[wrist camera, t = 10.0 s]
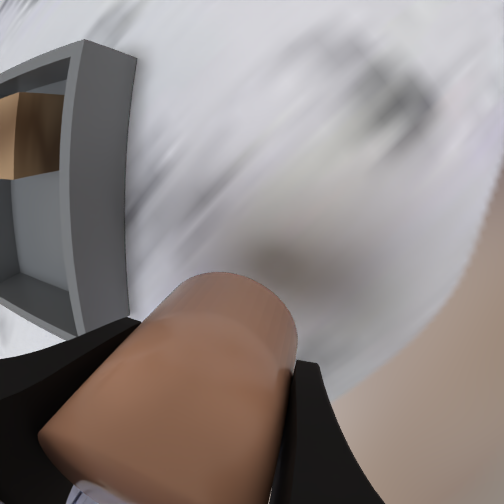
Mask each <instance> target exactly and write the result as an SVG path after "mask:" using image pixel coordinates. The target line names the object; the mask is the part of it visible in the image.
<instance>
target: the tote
mask: <svg viewBox="0 0 504 504" xmlns="http://www.w3.org/2000/svg"><path fill="white" fill-rule="evenodd" d="M136 62H137V58H135V57H132V56H130V55H127V54H125V53H122V52H119V51H117V50H114V49H111V48H109V47H106V46H103V45H100V44H97V43H94V42H91V41H88V40H85V39H84V40H81V41H77V42H74V43H71V44H68V45H66V46H63V47H60V48H57V49H55V50H52V51H49V52H47V53H44V54H42V55H39V56H37V57H35V58H32V59H30V60H28V61H26V62H23V63H21V64H19V65H17V66H15V67H13V68H11V69H9V70H7V71H5V72H3V73H1V74H0V99H1V98H4V97H7V96H9V95H12V94H15V93H18V92H29V93H45V94H58V95H65V96H64V104H63V114H62V125H61V139H60V165H59V171H54V172H49V173H43V174H38V175H33V176H29V177H24V178H19V179H15V180H10V179H0V304H1V305H3V306H5V307H6V308H8V309H9V310H11V311H13V312H14V313H16V314H18V315H19V316H21V317H23V318H25V319H26V320H28V321H30V322H32V323H34V324H35V325H37V326H39V327H41V328H43V329H45V330H46V331H48V332H50V333H52V334H54V335H56V336H58V337H60V338H62V339H64V340H66V341H68V340H70V339H73V338H75V337H78V336H80V335H82V334H85V333H87V332H90V331H92V330H94V329H97V328H99V327H102V326H104V325H106V324H109V323H111V322H114V321H116V320H119V319H122V318H125V317H127V316H129V315H130V314H129V304H128V292H127V279H126V261H125V233H124V191H125V164H126V147H127V134H128V122H129V113H130V104H131V95H132V88H133V81H134V74H135V68H136Z"/></svg>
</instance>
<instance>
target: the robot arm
mask: <svg viewBox="0 0 504 504" xmlns="http://www.w3.org/2000/svg"><path fill="white" fill-rule="evenodd" d="M140 324H141V322H140V321H137V320H134V319H131V318H128V317H125V318H122V319H119V320H116V321H114V322H111V323H109V324H106V325H104V326H102V327H99V328H97V329H94V330H92V331H90V332H87V333H85V334H82V335H80V336H78V337H75V338H73V339H70V340H68V341H65V342H62V343H59V344H57V345H54V346H51V347H48V348H45V349H42V350H39V351H36V352H32V353H28V354H24V355H20V356H16V357H11V358H5V359H0V504H98V503H97V502H95V501H94V500H93V499H91V498H90V497H88V496H87V495H86V494H85V493H83V492H82V491H81V490H80V489H78V488H77V487H76V486H75V485H74V484H72V483H71V482H70V481H69V480H68V479H67V478H66V477H65V476H64V475H63V474H62V473H61V472H60V471H59V470H58V469H57V468H56V467H55V466H54V464H53V463H52V462H51V461H50V459H49V458H48V457H47V455H46V454H45V452H44V451H43V449H42V447H41V446H40V443H39V440H38V433H39V431H40V430H41V429H42V428H43V427H44V426H45V424H46V423H47V422H48V421H49V420H50V419H51V418H52V417H53V416H54V415H55V413H56V412H57V411H58V410H59V409H60V408H61V407H62V406H63V405H64V404H65V403H66V402H67V400H68V399H69V398H70V397H71V396H72V395H73V394H74V393H75V392H76V391H77V390H78V389H79V388H80V386H81V385H82V384H83V383H84V382H85V381H86V380H87V379H88V378H89V377H90V376H91V375H92V374H93V373H94V372H95V371H96V369H97V368H98V367H99V366H100V365H101V364H102V363H103V362H104V361H105V360H106V359H107V358H108V357H109V356H110V355H111V354H112V353H113V352H114V351H115V350H116V349H117V348H118V347H119V345H120V344H121V343H122V342H123V341H124V340H125V339H126V338H127V337H128V336H129V335H130V334H131V333H132V332H133V331H134V330H135V329H136V328H137V327H138V326H139V325H140ZM269 504H385V503H384V501H383V500H382V499H381V498H380V496H379V495H378V494H377V492H376V491H375V490H374V488H373V487H372V485H371V484H370V482H369V481H368V479H367V477H366V476H365V474H364V473H363V471H362V469H361V468H360V466H359V464H358V463H357V461H356V459H355V457H354V455H353V453H352V452H351V450H350V448H349V446H348V444H347V441H346V439H345V437H344V435H343V433H342V431H341V429H340V426H339V424H338V422H337V419H336V417H335V414H334V412H333V409H332V406H331V404H330V401H329V398H328V395H327V392H326V389H325V386H324V383H323V379H322V376H321V371H320V367H319V365H318V364H317V363H312V362H306V361H301V360H297V361H296V365H295V369H294V372H293V377H292V383H291V389H290V395H289V402H288V408H287V414H286V419H285V425H284V430H283V436H282V441H281V446H280V451H279V456H278V461H277V466H276V470H275V475H274V480H273V484H272V491H271V496H270V502H269Z"/></svg>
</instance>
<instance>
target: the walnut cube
mask: <svg viewBox="0 0 504 504" xmlns="http://www.w3.org/2000/svg"><path fill="white" fill-rule="evenodd" d="M64 96H65V95H58V94H45V93H29V92H18V93H15V94H12V95H9V96H7V97H4V98H1V99H0V179H10V180H15V179H19V178H24V177H29V176H33V175H38V174H43V173H49V172H54V171H59V165H60V139H61V125H62V114H63V104H64Z"/></svg>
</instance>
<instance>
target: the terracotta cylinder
mask: <svg viewBox="0 0 504 504" xmlns="http://www.w3.org/2000/svg"><path fill="white" fill-rule="evenodd" d="M297 345H298V335H297V329H296V326H295V322H294V320H293V318H292V316H291V314H290V312H289V310H288V309H287V307H286V306H285V304H284V303H283V302H282V301H281V300H280V299H279V298H278V297H277V296H276V295H275V294H274V293H273V292H272V291H270V290H269V289H268V288H266V287H265V286H263V285H262V284H260V283H258V282H256V281H254V280H252V279H249V278H247V277H244V276H241V275H237V274H233V273H226V272H211V273H204V274H200V275H196V276H194V277H191V278H189V279H187V280H186V281H184V282H183V283H181V284H180V285H179V286H178V287H177V288H176V289H175V290H174V291H173V292H172V293H171V294H170V295H169V296H168V297H167V298H166V299H165V300H164V301H163V302H162V303H161V304H160V305H159V306H158V307H157V308H156V309H155V310H154V311H153V312H152V313H151V314H150V315H149V316H148V317H147V318H146V319H145V320H144V321H143V322H142V323H141V324H140V325H139V326H138V327H137V328H136V329H135V330H134V331H133V332H132V333H131V334H130V335H129V336H128V337H127V338H126V339H125V340H124V341H123V342H122V343H121V344H120V345H119V347H118V348H117V349H116V350H115V351H114V352H113V353H112V354H111V355H110V356H109V357H108V358H107V359H106V360H105V361H104V362H103V363H102V364H101V365H100V366H99V367H98V368H97V369H96V371H95V372H94V373H93V374H92V375H91V376H90V377H89V378H88V379H87V380H86V381H85V382H84V383H83V384H82V385H81V386H80V388H79V389H78V390H77V391H76V392H75V393H74V394H73V395H72V396H71V397H70V398H69V399H68V400H67V402H66V403H65V404H64V405H63V406H62V407H61V408H60V409H59V410H58V411H57V412H56V413H55V415H54V416H53V417H52V418H51V419H50V420H49V421H48V422H47V423H46V424H45V426H44V427H43V428H42V429H41V430H40V431H39V433H38V440H39V443H40V446H41V447H42V449H43V451H44V452H45V454H46V455H47V457H48V458H49V459H50V461H51V462H52V463H53V464H54V466H55V467H56V468H57V469H58V470H59V471H60V472H61V473H62V474H63V475H64V476H65V477H66V478H67V479H68V480H69V481H70V482H71V483H72V484H74V485H75V486H76V487H77V488H78V489H80V490H81V491H82V492H83V493H85V494H86V495H87V496H88V497H90V498H91V499H93V500H94V501H95V502H97V503H98V504H268V502H269V497H270V493H271V489H272V484H273V480H274V475H275V470H276V466H277V461H278V456H279V451H280V446H281V441H282V436H283V430H284V425H285V419H286V414H287V408H288V402H289V395H290V389H291V383H292V377H293V372H294V365H295V359H296V352H297Z"/></svg>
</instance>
